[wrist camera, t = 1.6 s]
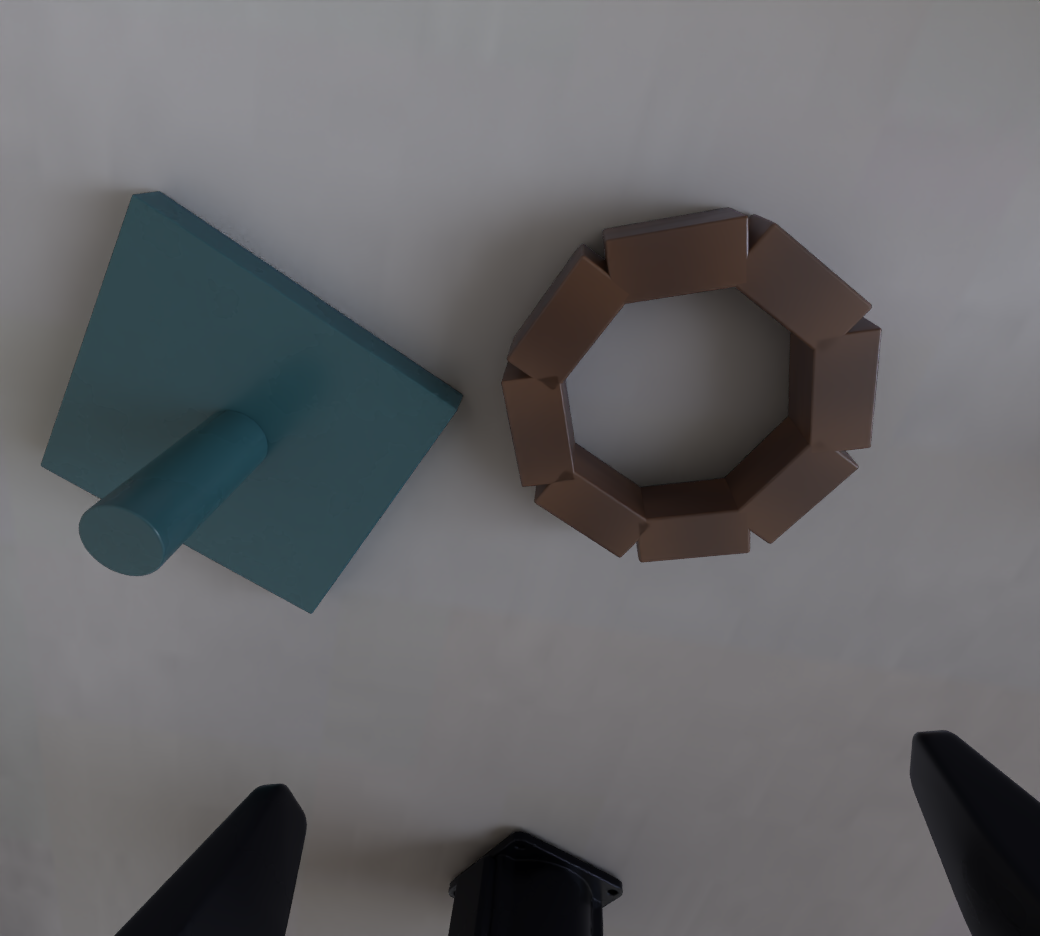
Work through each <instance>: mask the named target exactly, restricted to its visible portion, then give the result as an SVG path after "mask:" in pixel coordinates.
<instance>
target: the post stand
mask: <svg viewBox="0 0 1040 936" xmlns="http://www.w3.org/2000/svg"><path fill="white" fill-rule="evenodd" d="M462 398H463V395H462V394H461V393H459V392H458V391H456V390H455V389H453V388H452V387H450V386H449V385H447V384H446V383H444V382H443V381H441V380H440V379H438V378H437V377H435V376H434V375H432V374H431V373H429V372H428V371H426V370H425V369H423V368H422V367H420V366H419V365H418V364H416V363H415V362H413V361H412V360H410V359H409V358H407V357H406V356H404V355H403V354H401V353H400V352H398V351H397V350H395V349H394V348H392V347H391V346H389V345H388V344H386V343H385V342H383V341H382V340H380V339H379V338H377V337H376V336H374V335H373V334H371V333H370V332H368V331H367V330H365V329H364V328H362V327H361V326H359V325H358V324H356V323H355V322H354V321H352V320H351V319H349V318H348V317H346V316H345V315H343V314H342V313H340V312H339V311H337V310H336V309H334V308H333V307H331V306H330V305H328V304H327V303H325V302H324V301H322V300H321V299H319V298H318V297H316V296H315V295H313V294H312V293H310V292H309V291H307V290H306V289H304V288H303V287H301V286H300V285H298V284H297V283H295V282H294V281H292V280H291V279H289V278H288V277H287V276H285V275H284V274H282V273H281V272H279V271H278V270H276V269H275V268H273V267H272V266H270V265H269V264H267V263H266V262H264V261H263V260H261V259H260V258H258V257H257V256H255V255H254V254H252V253H251V252H249V251H248V250H246V249H245V248H243V247H242V246H240V245H239V244H237V243H236V242H234V241H233V240H231V239H230V238H228V237H227V236H225V235H224V234H223V233H221V232H220V231H218V230H217V229H215V228H214V227H212V226H211V225H209V224H208V223H206V222H205V221H203V220H202V219H200V218H199V217H197V216H196V215H194V214H193V213H191V212H190V211H188V210H187V209H185V208H184V207H182V206H181V205H179V204H178V203H176V202H175V201H173V200H172V199H170V198H169V197H167V196H166V195H164V194H163V193H161V192H160V191H156V192H148V193H141V194H133V195H132V197H131V200H130V203H129V206H128V209H127V212H126V215H125V218H124V221H123V224H122V227H121V230H120V233H119V236H118V239H117V242H116V245H115V248H114V250H113V253H112V256H111V259H110V262H109V265H108V268H107V271H106V274H105V277H104V280H103V283H102V286H101V289H100V292H99V295H98V298H97V301H96V304H95V306H94V309H93V312H92V315H91V318H90V321H89V324H88V327H87V330H86V333H85V336H84V339H83V342H82V345H81V348H80V351H79V354H78V357H77V360H76V363H75V365H74V368H73V371H72V374H71V377H70V380H69V383H68V386H67V389H66V392H65V395H64V398H63V401H62V404H61V407H60V410H59V413H58V416H57V419H56V421H55V424H54V427H53V430H52V433H51V436H50V439H49V442H48V445H47V448H46V451H45V454H44V457H43V460H42V463H41V466H42V467H44V468H45V469H47V470H49V471H51V472H53V473H54V474H56V475H58V476H60V477H62V478H64V479H65V480H67V481H69V482H71V483H73V484H75V485H76V486H78V487H80V488H82V489H84V490H86V491H87V492H89V493H91V494H93V495H95V496H96V497H98V498H100V499H101V500H100V501H99V502H97V503H96V504H95V505H93V506H92V507H91V508H89V509H88V510H87V511H86V512H85V513H84V514H83V516H82V517H81V520H80V523H79V534H80V538H81V540H82V543H83V544H84V546H85V548H86V549H87V551H88V552H89V553H90V554H91V555H92V556H93V557H94V558H95V559H96V560H97V561H98V562H99V563H101V564H102V565H104V566H105V567H107V568H109V569H111V570H113V571H115V572H118V573H121V574H124V575H130V576H143V575H147V574H150V573H153V572H155V571H156V570H158V569H159V568H160V567H161V566H162V565H163V564H164V563H165V562H166V560H167V559H168V558H169V557H170V556H171V555H172V554H173V553H174V552H175V551H176V550H177V549H178V548H179V547H180V546H181V545H182V544H184V545H186V546H188V547H190V548H191V549H193V550H195V551H197V552H199V553H201V554H202V555H204V556H206V557H208V558H210V559H211V560H213V561H215V562H217V563H219V564H221V565H222V566H224V567H226V568H228V569H230V570H232V571H233V572H235V573H237V574H239V575H241V576H243V577H244V578H246V579H248V580H250V581H252V582H253V583H255V584H257V585H259V586H261V587H263V588H264V589H266V590H268V591H270V592H272V593H274V594H275V595H277V596H279V597H281V598H283V599H285V600H286V601H288V602H290V603H292V604H294V605H295V606H297V607H299V608H301V609H303V610H305V611H306V612H308V613H310V614H312V613H313V612H314V610H315V609H316V607H317V606H318V605H319V603H320V602H321V600H322V599H323V598H324V596H325V595H326V593H327V592H328V591H329V589H330V588H331V586H332V585H333V584H334V582H335V581H336V579H337V578H338V577H339V575H340V574H341V572H342V571H343V570H344V568H345V567H346V565H347V564H348V563H349V561H350V560H351V558H352V557H353V556H354V554H355V553H356V551H357V550H358V549H359V547H360V546H361V544H362V543H363V542H364V540H365V539H366V537H367V536H368V535H369V533H370V532H371V530H372V529H373V528H374V526H375V525H376V523H377V522H378V521H379V519H380V518H381V516H382V515H383V514H384V512H385V511H386V509H387V508H388V507H389V505H390V504H391V502H392V501H393V500H394V498H395V497H396V495H397V494H398V493H399V491H400V490H401V488H402V487H403V485H404V484H405V483H406V481H407V480H408V478H409V477H410V476H411V474H412V473H413V471H414V470H415V469H416V467H417V466H418V464H419V463H420V462H421V460H422V459H423V457H424V456H425V455H426V453H427V452H428V450H429V449H430V448H431V446H432V445H433V443H434V442H435V441H436V439H437V438H438V436H439V435H440V434H441V432H442V431H443V429H444V428H445V427H446V425H447V424H448V422H449V421H450V420H451V418H452V417H453V415H454V414H455V413H456V411H457V409H458V407H459V405H460V402H461V400H462Z"/></svg>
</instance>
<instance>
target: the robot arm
mask: <svg viewBox="0 0 1040 936" xmlns="http://www.w3.org/2000/svg"><path fill="white" fill-rule="evenodd" d="M910 779H911V783H912V787H913V790H914V793H915V796H916V798H917V801H918V803H919V806H920V808H921V811H922V813H923V816H924V818H925V821H926V823H927V826H928V829H929V831H930V834H931V836H932V839H933V841H934V844H935V846H936V849H937V851H938V854H939V856H940V859H941V862H942V864H943V867H944V869H945V872H946V874H947V877H948V879H949V882H950V884H951V887H952V890H953V892H954V895H955V897H956V900H957V902H958V905H959V907H960V909H961V912H962V914H963V917H964V919H965V921H966V924H967V926H968V928H969V930H970V932H971V934H972V936H1040V802H1039V801H1037V800H1036V799H1035V798H1034V797H1032V796H1031V795H1030V794H1029V793H1027V792H1026V791H1025V790H1024V789H1022V788H1021V787H1020V786H1019V785H1017V784H1016V783H1015V782H1014V781H1013V780H1011V779H1010V778H1009V777H1008V776H1006V775H1005V774H1004V773H1003V772H1001V771H1000V770H999V769H998V768H996V767H995V766H994V765H993V764H991V763H990V762H989V761H988V760H986V759H985V758H984V757H983V756H981V755H980V754H979V753H978V752H977V751H975V750H974V749H973V748H972V747H970V746H969V745H968V744H967V743H965V742H964V741H963V740H962V739H960V738H959V737H958V736H957V735H955V734H953V733H952V732H949V731H946V730H939V731H926V732H918V733H916V734H915V735H914V736H913V740H912V751H911V763H910ZM306 827H307V823H306V817H305V814H304V812H303V810H302V809H301V807H300V805H299V804H298V802H297V801H296V799H295V797H294V796H293V794H292V793H291V791H290V790H289V788H288V787H287V786H286V785H284V784H270V785H262V786H259V787H257V788H256V789H255V790H254V791H252V792H251V793H250V794H249V796H248V797H247V798H246V799H245V800H244V801H243V802H242V803H241V804H240V805H239V806H238V807H237V808H236V809H235V810H234V811H233V812H232V813H231V814H230V815H229V816H228V817H227V819H226V820H225V821H224V822H223V823H222V824H221V825H220V826H219V827H218V828H217V829H216V830H215V831H214V832H213V833H212V834H211V835H210V836H209V837H208V838H207V839H206V840H205V841H204V843H203V844H202V845H201V846H200V847H199V848H198V849H197V850H196V851H195V852H194V853H193V854H192V855H191V856H190V857H189V858H188V859H187V860H186V861H185V862H184V863H183V864H182V866H181V867H180V868H179V869H178V870H177V871H176V872H175V873H174V874H173V875H172V876H171V877H170V878H169V879H168V880H167V881H166V882H165V883H164V884H163V885H162V886H161V887H160V889H159V890H158V891H157V892H156V893H155V894H154V895H153V896H152V897H151V898H150V899H149V900H148V901H147V902H146V903H145V904H144V905H143V906H142V907H141V908H140V909H139V910H138V911H137V913H136V914H135V915H134V916H133V917H132V918H131V919H130V920H129V921H128V922H127V923H126V924H125V925H124V926H123V927H122V928H121V929H120V930H119V931H118V932H117V933H116V934H115V936H285V932H286V928H287V924H288V919H289V914H290V909H291V904H292V899H293V894H294V889H295V884H296V879H297V874H298V869H299V865H300V860H301V855H302V850H303V845H304V840H305V835H306ZM622 893H623V890H622V882H621V881H620V880H618V879H617V878H615V877H613V876H611V875H609V874H607V873H605V872H603V871H601V870H599V869H597V868H595V867H593V866H591V865H589V864H587V863H585V862H583V861H581V860H579V859H577V858H575V857H573V856H571V855H569V854H567V853H565V852H563V851H561V850H559V849H557V848H555V847H553V846H551V845H549V844H547V843H545V842H543V841H541V840H539V839H537V838H535V837H533V836H531V835H529V834H527V833H525V832H515V833H513V834H511V835H510V836H509V837H507V838H506V839H505V840H504V841H502V842H501V843H500V844H499V845H497V846H496V847H495V848H493V849H492V850H491V851H490V852H488V853H487V854H486V855H485V856H483V857H482V858H481V859H479V860H478V861H477V862H476V863H474V864H473V865H472V866H471V867H469V868H468V869H467V870H465V871H464V872H463V873H462V874H460V875H459V876H458V877H457V878H455V879H454V880H453V881H451V883H450V887H449V895H450V896H451V897H453V898H454V904H453V910H452V916H451V922H450V928H449V934H448V936H603V913H602V908H603V907H604V906H606V905H607V904H609V903H611V902H612V901H614V900H615V899H617V898H619V897H620V896H621V895H622Z"/></svg>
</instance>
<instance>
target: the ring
mask: <svg viewBox="0 0 1040 936" xmlns="http://www.w3.org/2000/svg"><path fill="white" fill-rule="evenodd" d="M602 235H603V244H604V253H605V260H604V259H603V258H602V257H601V256H599V255H598V254H597V253H595V252H594V251H593V250H591V249H590V248H589V247H588V246H586V245H585V244H581V245H580V246H579V247H578V248H577V250H576V251H575V253H574V254H573V255H572V257H571V258H570V260H569V261H568V262H567V264H566V265H565V267H564V268H563V269H562V271H561V272H560V274H559V275H558V276H557V278H556V279H555V281H554V282H553V283H552V285H551V286H550V288H549V289H548V290H547V292H546V293H545V294H544V296H543V297H542V299H541V300H540V301H539V303H538V304H537V306H536V307H535V308H534V310H533V311H532V313H531V314H530V315H529V317H528V318H527V320H526V321H525V322H524V324H523V325H522V327H521V328H520V329H519V331H518V332H517V334H516V335H515V336H514V338H513V341H512V344H511V347H510V351H509V354H508V357H507V360H508V362H507V366H506V369H505V372H504V375H503V378H502V382H501V384H502V389H503V394H504V399H505V404H506V409H507V414H508V419H509V424H510V429H511V434H512V439H513V444H514V449H515V454H516V459H517V464H518V469H519V474H520V479H521V484H522V486H523V487H526V486H535V485H536V491H535V499H534V502H535V503H536V504H537V505H539V506H540V507H542V508H543V509H545V510H547V511H548V512H550V513H551V514H553V515H554V516H556V517H557V518H559V519H560V520H562V521H564V522H565V523H567V524H568V525H570V526H571V527H573V528H574V529H576V530H577V531H579V532H581V533H582V534H584V535H585V536H587V537H588V538H590V539H591V540H593V541H594V542H596V543H598V544H599V545H601V546H602V547H604V548H605V549H607V550H608V551H610V552H611V553H613V554H615V555H616V556H618V557H622V556H623V555H624V554H625V553H626V552H627V551H628V550H629V549H630V548H631V547H632V546H633V545H634V544H635V543H636V544H637V551H638V558H639V561H640V562H652V561H663V560H674V559H685V558H696V557H707V556H718V555H729V554H740V553H748V552H749V551H750V531H752V532H753V533H754V534H756V535H757V536H759V537H760V538H762V539H763V540H765V541H766V542H767V543H769V544H771V543H772V542H774V541H775V540H776V539H777V538H778V537H779V536H781V535H782V534H783V533H784V532H785V531H786V530H787V529H789V528H790V527H791V526H792V525H793V524H794V523H796V522H797V521H798V520H799V519H800V518H801V517H802V516H804V515H805V514H806V513H807V512H808V511H809V510H811V509H812V508H813V507H814V506H815V505H816V504H817V503H819V502H820V501H821V500H822V499H823V498H824V497H826V496H827V495H828V494H829V493H830V492H831V491H832V490H834V489H835V488H836V487H837V486H838V485H839V484H840V483H842V482H843V481H844V480H845V479H846V478H847V477H849V476H850V475H851V474H852V473H853V472H854V471H855V470H857V469H858V465H857V463H856V462H855V461H854V460H853V459H852V458H851V456H850V455H849V454H848V453H847V452H846V451H845V450H854V449H863V448H870V447H871V438H872V427H873V417H874V406H875V396H876V385H877V374H878V364H879V353H880V342H881V332H882V330H881V328H880V327H878V326H877V325H875V324H873V323H872V322H870V321H869V320H867V319H865V318H864V317H863V316H864V315H865V314H866V313H867V312H868V311H869V310H870V309H871V308H872V305H871V304H870V303H869V302H868V301H867V300H865V299H864V298H863V297H862V296H861V295H860V294H858V293H857V292H856V291H855V290H854V289H853V288H851V287H850V286H849V285H848V284H847V283H846V282H844V281H843V280H842V279H841V278H840V277H838V276H837V275H836V274H835V273H834V272H833V271H831V270H830V269H829V268H828V267H827V266H826V265H824V264H823V263H822V262H821V261H820V260H819V259H817V258H816V257H815V256H814V255H813V254H811V253H810V252H809V251H808V250H807V249H806V248H804V247H803V246H802V245H801V244H800V243H799V242H797V241H796V240H795V239H794V238H793V237H792V236H790V235H789V234H788V233H787V232H786V231H784V230H783V229H782V228H781V227H780V226H779V225H777V224H776V223H774V222H772V221H769V220H767V219H765V218H763V217H760V216H758V215H756V214H753V215H751V217H750V218H748V216H746V215H744V214H742V213H740V212H738V211H736V210H734V209H732V208H729V207H727V208H722V209H716V210H710V211H704V212H699V213H693V214H687V215H681V216H676V217H670V218H664V219H658V220H653V221H647V222H641V223H635V224H630V225H624V226H618V227H613V228H607V229H604V230H603V231H602ZM731 287H735V288H737V289H738V290H739V291H740V292H741V293H743V294H744V295H745V296H746V297H748V298H749V299H750V300H751V301H753V302H754V303H755V304H756V305H758V306H759V307H760V308H761V309H763V310H764V311H765V312H766V313H768V314H769V315H770V316H771V317H772V318H774V319H775V320H776V321H777V322H779V323H780V324H781V325H782V326H784V327H785V328H786V329H787V330H789V331H790V365H789V404H788V417H787V418H786V419H785V420H784V421H783V422H782V423H781V424H780V425H779V426H777V427H776V428H775V429H774V430H773V431H772V432H771V433H770V434H769V435H768V436H767V437H766V438H765V439H764V440H763V441H762V442H761V443H760V444H759V445H758V446H757V447H756V448H755V449H754V450H753V451H752V452H751V453H750V454H749V455H748V456H747V457H746V458H745V459H743V460H742V461H741V462H740V463H739V464H738V465H737V466H736V467H735V468H734V469H733V470H732V471H731V472H730V473H729V474H728V475H727V476H726V477H725V478H720V479H710V480H701V481H692V482H683V483H674V484H665V485H656V486H646V487H639V486H638V485H636V484H635V483H633V482H632V481H631V480H629V479H628V478H626V477H625V476H623V475H622V474H620V473H619V472H617V471H616V470H614V469H613V468H612V467H610V466H609V465H607V464H606V463H604V462H603V461H601V460H600V459H598V458H597V457H595V456H594V455H593V454H591V453H590V452H588V451H587V450H585V449H584V448H582V447H581V446H579V445H578V444H576V443H575V440H574V433H573V426H572V419H571V413H570V406H569V399H568V393H567V386H566V378H567V377H568V375H569V374H570V373H571V372H572V370H573V369H574V368H575V367H576V365H577V364H578V363H579V361H580V360H581V359H582V358H583V356H584V355H585V354H586V353H587V351H588V350H589V349H590V348H591V346H592V345H593V344H594V343H595V341H596V340H597V339H598V337H599V336H600V335H601V334H602V332H603V331H604V330H605V329H606V327H607V326H608V325H609V324H610V322H611V321H612V320H613V319H614V317H615V316H616V315H617V313H618V312H619V311H620V310H621V308H622V307H623V306H624V305H625V304H628V303H634V302H641V301H647V300H654V299H660V298H666V297H673V296H679V295H686V294H692V293H699V292H705V291H712V290H718V289H725V288H731Z"/></svg>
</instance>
